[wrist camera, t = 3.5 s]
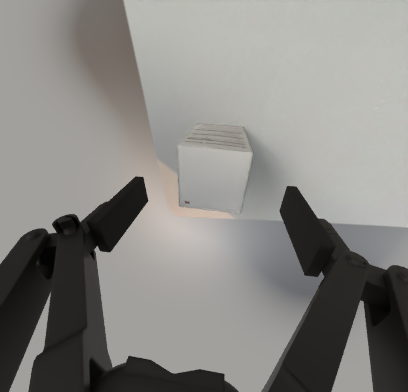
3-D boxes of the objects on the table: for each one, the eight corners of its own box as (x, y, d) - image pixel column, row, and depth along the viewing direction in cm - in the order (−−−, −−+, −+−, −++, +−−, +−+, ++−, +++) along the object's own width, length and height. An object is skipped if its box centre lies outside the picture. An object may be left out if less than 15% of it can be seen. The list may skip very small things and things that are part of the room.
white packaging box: (237, 170, 30) (241, 216, 19) (195, 166, 30) (176, 208, 20) (245, 125, 26) (256, 152, 15) (196, 121, 26) (174, 143, 16)
